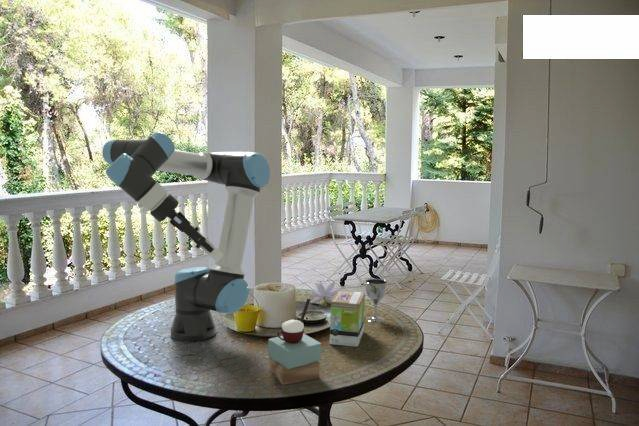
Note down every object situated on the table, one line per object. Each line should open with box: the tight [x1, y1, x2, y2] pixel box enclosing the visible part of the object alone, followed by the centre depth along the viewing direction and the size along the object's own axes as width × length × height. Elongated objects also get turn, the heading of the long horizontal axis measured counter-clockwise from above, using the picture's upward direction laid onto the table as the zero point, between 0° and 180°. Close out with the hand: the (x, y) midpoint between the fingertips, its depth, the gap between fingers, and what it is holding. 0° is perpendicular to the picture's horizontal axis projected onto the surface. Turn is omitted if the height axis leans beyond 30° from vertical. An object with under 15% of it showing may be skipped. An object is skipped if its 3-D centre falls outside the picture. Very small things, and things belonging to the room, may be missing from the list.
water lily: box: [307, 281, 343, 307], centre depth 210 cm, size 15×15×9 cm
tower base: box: [269, 356, 321, 386], centre depth 146 cm, size 11×11×5 cm
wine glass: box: [365, 278, 388, 324], centre depth 193 cm, size 8×8×15 cm
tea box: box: [329, 290, 366, 348], centre depth 173 cm, size 15×10×15 cm
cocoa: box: [277, 297, 311, 344], centre depth 144 cm, size 10×6×12 cm, turn 89°
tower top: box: [267, 333, 322, 369], centre depth 145 cm, size 11×11×5 cm
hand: (215, 253), depth 145 cm, fingers open, 13 cm apart
